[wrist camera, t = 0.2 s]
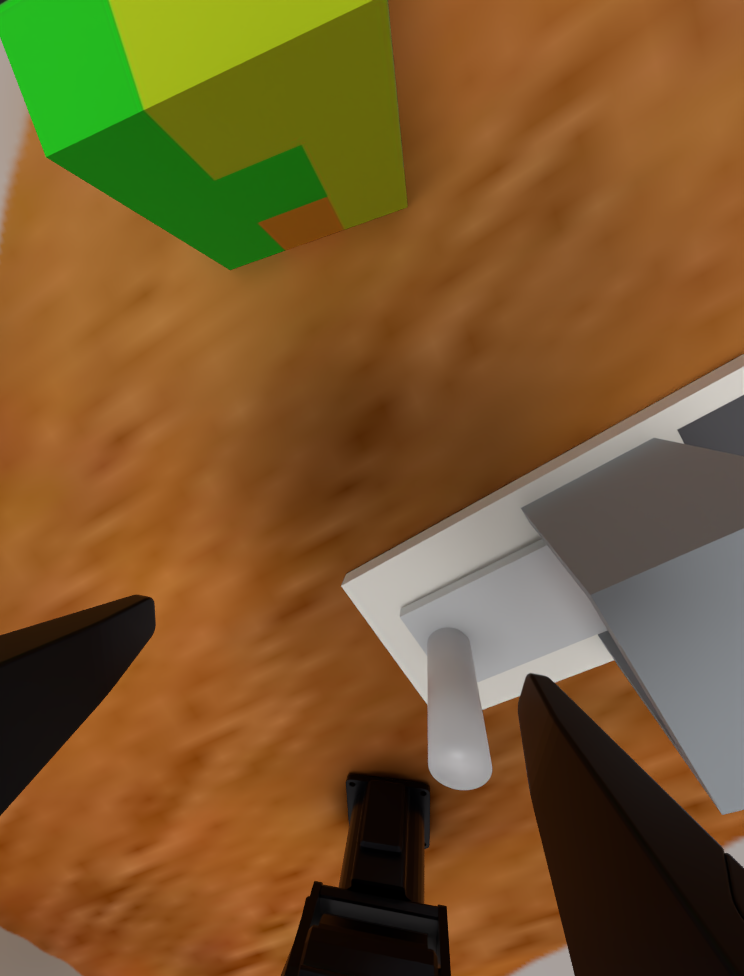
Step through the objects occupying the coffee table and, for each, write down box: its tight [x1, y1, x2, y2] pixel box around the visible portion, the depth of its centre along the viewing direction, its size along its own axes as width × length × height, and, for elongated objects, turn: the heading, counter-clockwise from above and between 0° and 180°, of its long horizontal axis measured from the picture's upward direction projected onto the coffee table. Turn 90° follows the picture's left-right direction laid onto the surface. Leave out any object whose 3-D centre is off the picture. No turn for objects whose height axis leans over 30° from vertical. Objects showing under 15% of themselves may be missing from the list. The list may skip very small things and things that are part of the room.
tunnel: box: [521, 438, 744, 815], centre depth 15 cm, size 7×10×8 cm
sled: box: [400, 539, 607, 790], centre depth 16 cm, size 16×6×8 cm, turn 124°
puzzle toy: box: [0, 0, 408, 270], centre depth 13 cm, size 10×10×10 cm
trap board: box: [341, 354, 744, 710], centre depth 20 cm, size 24×12×2 cm, turn 124°
